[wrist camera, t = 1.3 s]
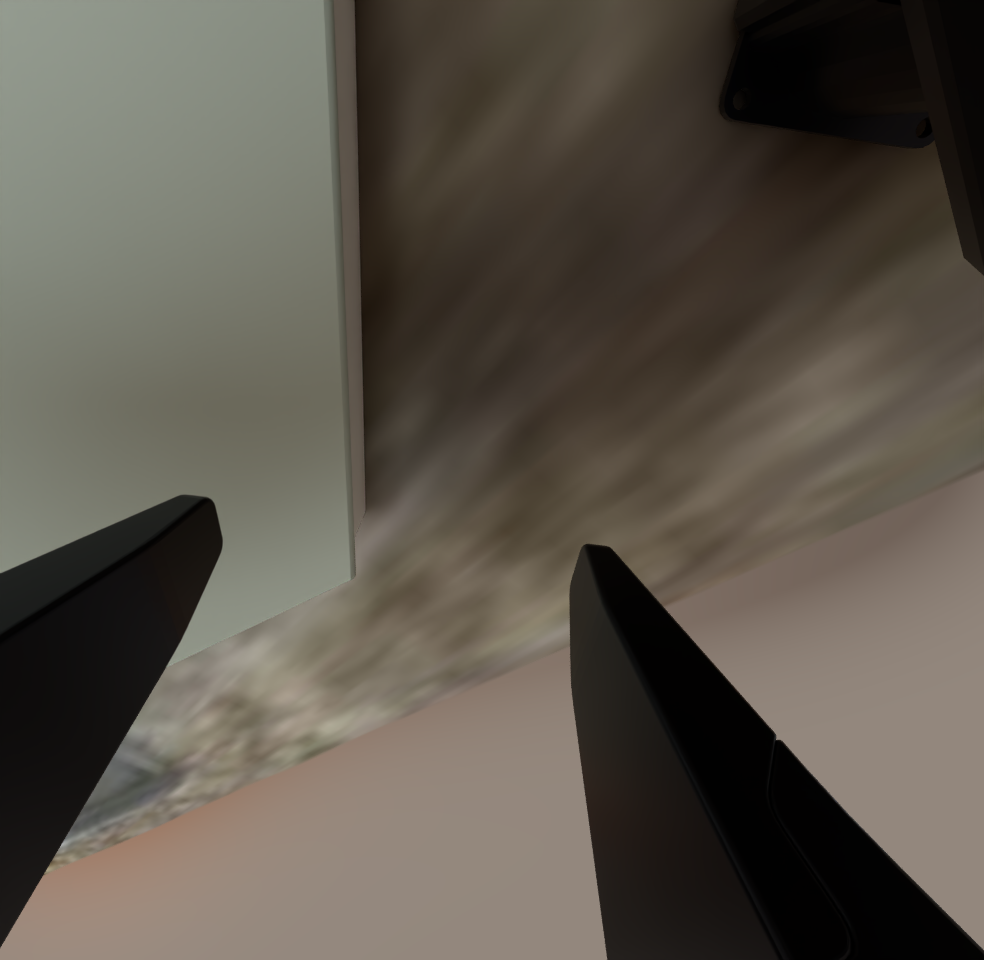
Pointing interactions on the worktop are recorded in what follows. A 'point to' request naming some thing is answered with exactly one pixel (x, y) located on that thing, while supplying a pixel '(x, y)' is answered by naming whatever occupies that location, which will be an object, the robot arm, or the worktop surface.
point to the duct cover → (176, 288)
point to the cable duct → (351, 238)
